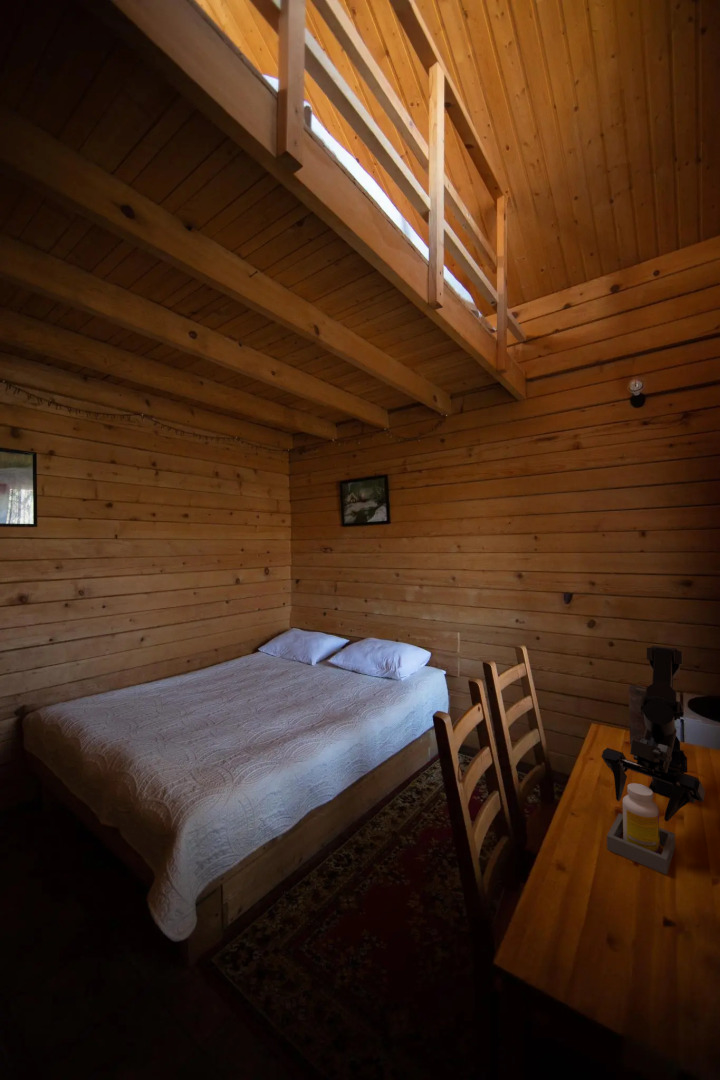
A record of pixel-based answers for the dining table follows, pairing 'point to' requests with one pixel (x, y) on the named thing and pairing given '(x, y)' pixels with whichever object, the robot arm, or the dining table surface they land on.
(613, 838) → the holder
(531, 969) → the dining table surface
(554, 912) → the dining table surface
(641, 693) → the candle
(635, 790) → the supplement bottle
